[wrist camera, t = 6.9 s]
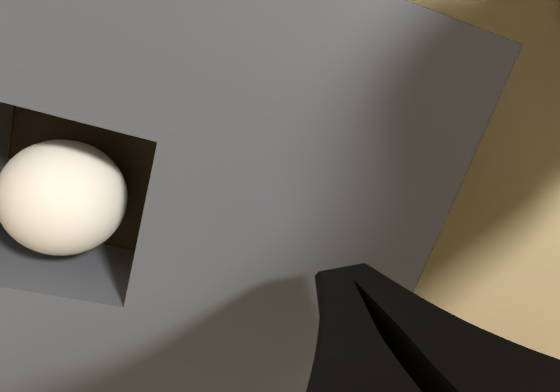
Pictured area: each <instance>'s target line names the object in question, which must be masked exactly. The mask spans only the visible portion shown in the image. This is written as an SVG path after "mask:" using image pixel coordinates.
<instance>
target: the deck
mask: <svg viewBox="0 0 560 392" xmlns="http://www.w3.org/2000/svg"><path fill="white" fill-rule="evenodd" d="M522 45H523V44H520V43H518V42H515V41H512V40H510V39H507V38H504V37H502V36H499V35H497V34H494V33H491V32H489V31H486V30H483V29H481V28H478V27H475V26H473V25H470V24H468V23H465V22H462V21H460V20H457V19H454V18H452V17H449V16H446V15H444V14H441V13H438V12H436V11H433V10H431V9H428V8H425V7H423V6H420V5H417V4H415V3H412V2H409V1H407V0H0V173H1V171H2V169H3V168H4V166H5V165H6V164H7V163H8V161H9V154H10V143H11V132H12V122H13V111H14V105H15V106H18V107H22V108H26V109H30V110H34V111H38V112H42V113H46V114H49V115H53V116H57V117H61V118H65V119H69V120H73V121H77V122H81V123H84V124H88V125H92V126H96V127H100V128H104V129H108V130H112V131H115V132H119V133H123V134H127V135H131V136H135V137H139V138H143V139H147V140H150V141H154V142H157V146H156V151H155V155H154V160H153V165H152V170H151V175H150V180H149V185H148V190H147V195H146V200H145V205H144V210H143V215H142V219H141V224H140V229H139V234H138V239H137V244H136V249H135V250H133V249H128V248H123V247H118V246H113V245H108V244H103V243H102V244H100V245H99V246H97V247H95V248H93V249H91V250H88V251H85V252H82V253H79V254H74V255H66V256H60V255H48V254H43V253H39V252H36V251H33V250H31V249H29V248H27V247H25V246H23V245H22V244H20V243H18V242H17V241H16V240H15V239H14V238H12V237H11V236H10V235H9V234H8V233H7V231H6V230H5V229H4V228H3V226H2V224H1V222H0V392H306V390H307V386H308V382H309V378H310V374H311V370H312V366H313V361H314V356H315V350H316V344H317V336H318V329H319V317H320V316H319V308H318V300H317V292H316V284H315V275H316V274H317V273H318V271H324V270H329V269H335V268H340V267H345V266H351V265H356V264H362V263H366V264H367V265H369V266H371V267H372V268H374V269H376V270H377V271H379V272H380V273H382V274H383V275H385V276H387V277H388V278H390V279H391V280H393V281H395V282H396V283H398V284H399V285H401V286H403V287H404V288H406V289H408V290H409V291H411V292H413V291H414V289H415V287H416V284H417V282H418V280H419V278H420V275H421V273H422V271H423V269H424V266H425V264H426V262H427V260H428V257H429V255H430V253H431V251H432V248H433V246H434V244H435V242H436V239H437V237H438V235H439V233H440V230H441V228H442V226H443V224H444V221H445V219H446V217H447V215H448V212H449V210H450V208H451V206H452V203H453V201H454V199H455V196H456V194H457V192H458V190H459V187H460V185H461V183H462V181H463V178H464V176H465V174H466V172H467V169H468V167H469V165H470V163H471V160H472V158H473V156H474V154H475V151H476V149H477V147H478V145H479V142H480V140H481V138H482V136H483V133H484V131H485V129H486V127H487V124H488V122H489V120H490V118H491V115H492V113H493V111H494V108H495V106H496V104H497V102H498V99H499V97H500V95H501V93H502V90H503V88H504V86H505V84H506V81H507V79H508V77H509V75H510V72H511V70H512V68H513V66H514V63H515V61H516V59H517V57H518V54H519V52H520V50H521V48H522Z"/></svg>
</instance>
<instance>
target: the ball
mask: <svg viewBox="0 0 560 392" xmlns="http://www.w3.org/2000/svg"><path fill="white" fill-rule="evenodd" d="M127 201H128V195H127V187H126V183H125V180H124V177H123V175H122V173H121V171H120V169H119V168H118V167H117V165H116V164H115V163H114V162H113V161H112V160H111V159H110V158H109V157H108V156H107V155H106V154H104V153H103V152H102V151H100V150H98V149H97V148H95V147H93V146H91V145H88V144H86V143H82V142H79V141H73V140H62V139H57V140H48V141H43V142H40V143H36V144H33V145H31V146H29V147H27V148H25V149H23V150H22V151H20V152H19V153H17V154H16V155H15V156H14V157H13V158H11V159H10V160H9V161H8V163H7V164H6V165H5V166H4V168H3V169H2V171H1V173H0V222H1V224H2V226H3V228H4V229H5V230H6V231H7V233H8V234H9V235H10V236H11V237H12V238H14V239H15V240H16V241H17V242H18V243H20V244H22V245H23V246H25V247H27V248H29V249H31V250H33V251H36V252H39V253H43V254H48V255H60V256H66V255H74V254H79V253H82V252H85V251H88V250H91V249H93V248H95V247H97V246H99V245H100V244H102V243H103V242H105V241H106V240H107V239H108V238H109V237H110V236H111V235H112V234H113V233H114V232H115V231H116V230H117V228H118V227H119V225H120V224H121V222H122V220H123V218H124V215H125V212H126V209H127Z"/></svg>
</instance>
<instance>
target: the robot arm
mask: <svg viewBox="0 0 560 392" xmlns="http://www.w3.org/2000/svg"><path fill="white" fill-rule="evenodd" d="M315 284H316V292H317V300H318V308H319V316H320V317H319V329H318V336H317V344H316V350H315V356H314V361H313V366H312V370H311V374H310V378H309V382H308V386H307V390H306V392H560V360H559V359H556V358H554V357H551V356H548V355H545V354H542V353H539V352H537V351H534V350H531V349H529V348H526V347H524V346H521V345H518V344H516V343H513V342H511V341H509V340H506V339H504V338H502V337H499V336H497V335H495V334H492V333H490V332H488V331H485V330H483V329H481V328H479V327H477V326H474V325H472V324H470V323H468V322H466V321H464V320H462V319H460V318H458V317H456V316H454V315H452V314H450V313H448V312H447V311H445V310H443V309H441V308H439V307H437V306H435V305H433V304H432V303H430V302H428V301H426V300H424V299H423V298H421V297H419V296H418V295H416V294H414V293H413V292H411V291H409V290H408V289H406V288H404V287H403V286H401V285H399V284H398V283H396V282H395V281H393V280H391V279H390V278H388V277H387V276H385V275H383V274H382V273H380V272H379V271H377V270H376V269H374V268H372V267H371V266H369V265H367V264H366V263H362V264H356V265H351V266H345V267H340V268H335V269H329V270H324V271H318V273H317V274H316V275H315Z"/></svg>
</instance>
